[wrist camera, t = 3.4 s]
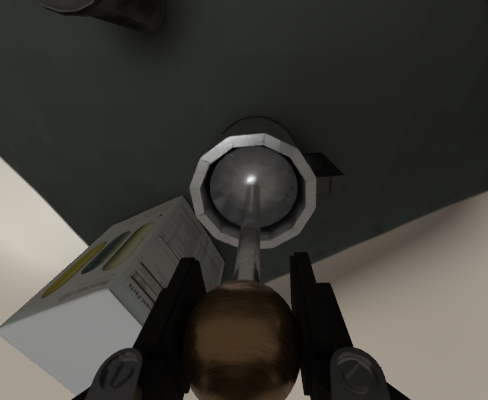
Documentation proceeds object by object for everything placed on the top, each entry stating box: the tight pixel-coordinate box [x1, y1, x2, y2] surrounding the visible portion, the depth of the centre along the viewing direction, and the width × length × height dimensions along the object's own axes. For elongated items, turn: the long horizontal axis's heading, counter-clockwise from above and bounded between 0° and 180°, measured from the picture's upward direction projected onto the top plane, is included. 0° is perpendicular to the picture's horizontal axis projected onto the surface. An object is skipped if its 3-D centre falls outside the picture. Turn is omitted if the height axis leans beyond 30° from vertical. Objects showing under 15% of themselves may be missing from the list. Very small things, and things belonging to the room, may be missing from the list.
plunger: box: [182, 145, 302, 400], centre depth 14 cm, size 8×8×16 cm
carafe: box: [190, 116, 345, 249], centre depth 24 cm, size 13×10×12 cm
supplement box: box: [0, 196, 225, 396], centre depth 28 cm, size 13×13×18 cm
